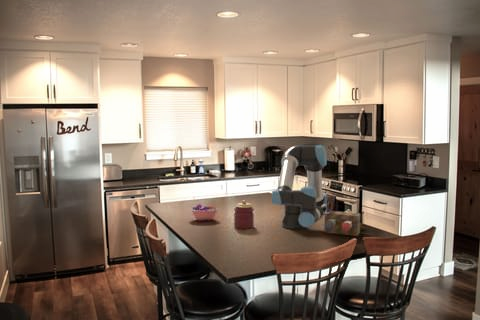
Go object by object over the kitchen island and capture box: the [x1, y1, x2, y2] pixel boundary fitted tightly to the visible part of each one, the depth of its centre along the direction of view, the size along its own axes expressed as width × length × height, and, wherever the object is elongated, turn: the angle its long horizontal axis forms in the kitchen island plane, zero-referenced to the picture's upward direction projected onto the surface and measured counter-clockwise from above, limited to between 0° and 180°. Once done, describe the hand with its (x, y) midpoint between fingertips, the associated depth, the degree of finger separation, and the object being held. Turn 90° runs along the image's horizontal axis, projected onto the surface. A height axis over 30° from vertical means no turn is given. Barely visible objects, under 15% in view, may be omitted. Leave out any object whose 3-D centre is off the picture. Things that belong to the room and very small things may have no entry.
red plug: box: [341, 220, 353, 232], centre depth 259 cm, size 5×13×5 cm, turn 154°
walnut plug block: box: [323, 210, 361, 237], centre depth 268 cm, size 20×8×12 cm, turn 64°
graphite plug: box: [324, 218, 336, 230], centre depth 263 cm, size 5×13×5 cm, turn 154°
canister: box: [233, 199, 255, 230], centre depth 280 cm, size 13×13×18 cm
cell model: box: [189, 203, 219, 222], centre depth 300 cm, size 17×20×11 cm
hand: (325, 206), depth 248 cm, fingers closed
